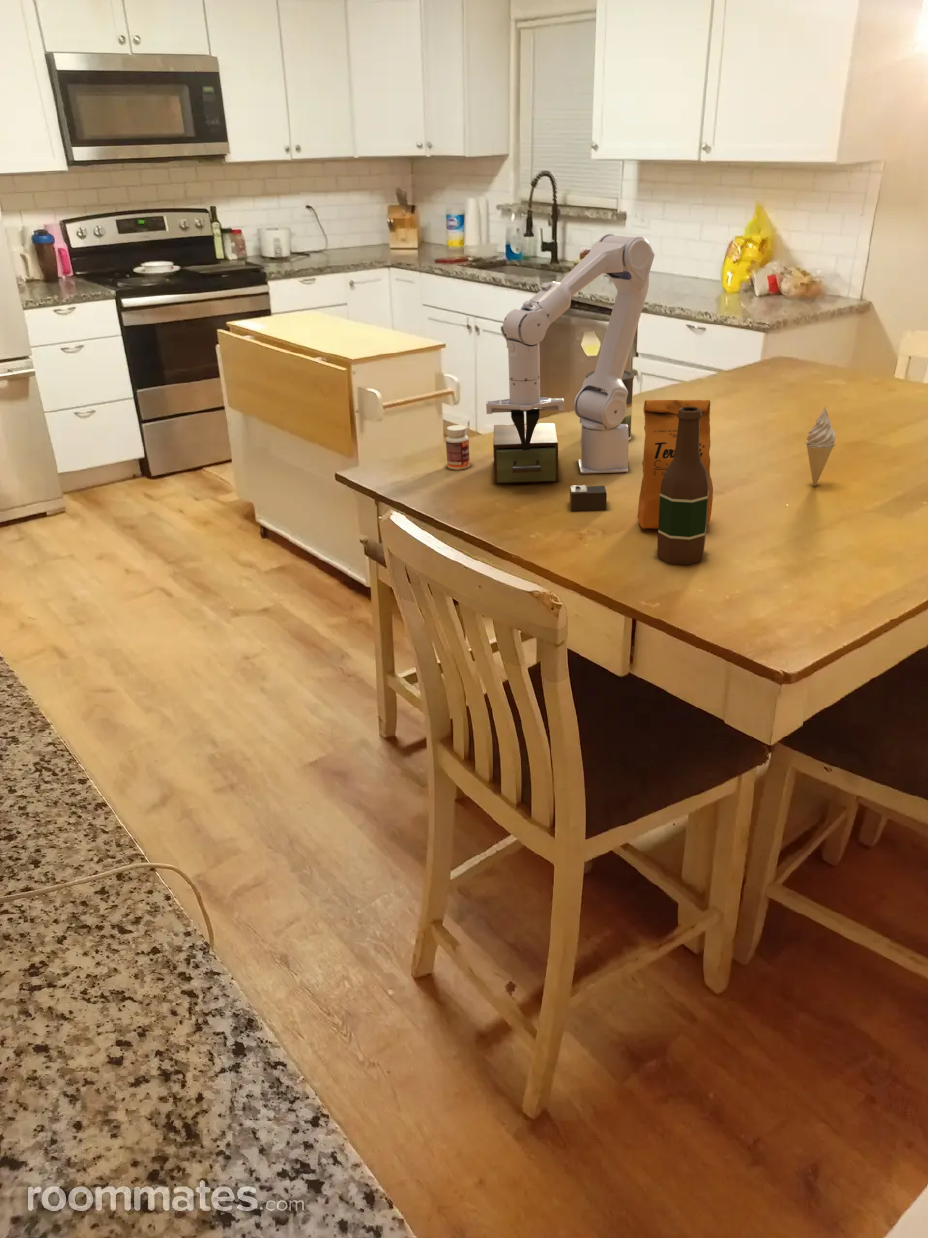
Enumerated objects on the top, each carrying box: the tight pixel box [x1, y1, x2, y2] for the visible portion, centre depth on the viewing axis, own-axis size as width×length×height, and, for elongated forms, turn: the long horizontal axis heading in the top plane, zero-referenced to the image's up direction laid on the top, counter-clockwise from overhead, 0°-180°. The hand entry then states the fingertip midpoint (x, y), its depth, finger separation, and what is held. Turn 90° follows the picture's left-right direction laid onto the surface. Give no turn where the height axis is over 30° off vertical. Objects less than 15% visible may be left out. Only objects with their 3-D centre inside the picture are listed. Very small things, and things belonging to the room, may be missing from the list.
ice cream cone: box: [805, 406, 836, 487], centre depth 169 cm, size 5×5×15 cm
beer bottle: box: [656, 406, 709, 566], centre depth 142 cm, size 8×8×24 cm
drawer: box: [496, 446, 556, 483], centre depth 182 cm, size 17×11×6 cm, turn 178°
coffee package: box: [637, 399, 714, 530], centre depth 154 cm, size 10×12×22 cm
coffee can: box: [585, 369, 635, 441], centre depth 202 cm, size 10×10×14 cm
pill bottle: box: [445, 424, 471, 471], centre depth 191 cm, size 5×5×8 cm
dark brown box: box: [569, 484, 608, 512], centre depth 168 cm, size 6×4×4 cm, turn 88°
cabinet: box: [492, 422, 559, 485], centre depth 186 cm, size 14×13×8 cm
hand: (525, 448), depth 176 cm, fingers closed
